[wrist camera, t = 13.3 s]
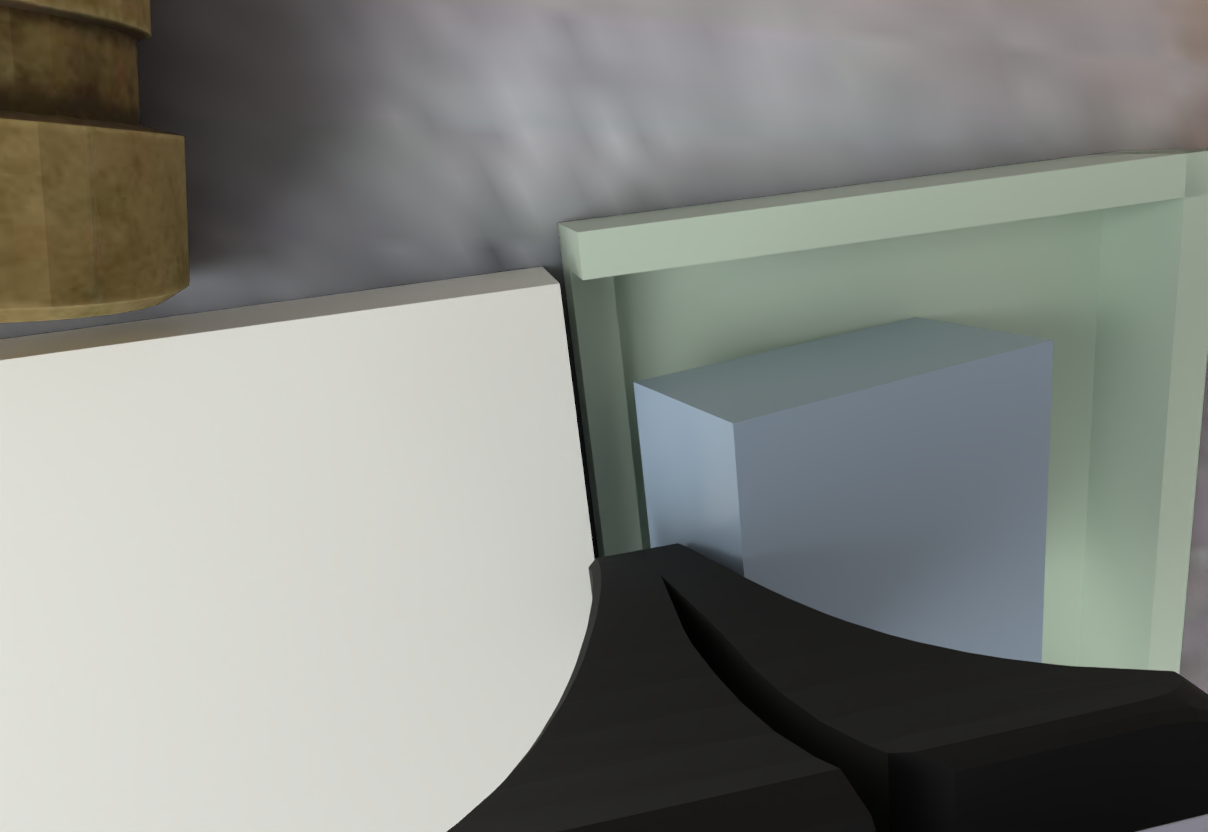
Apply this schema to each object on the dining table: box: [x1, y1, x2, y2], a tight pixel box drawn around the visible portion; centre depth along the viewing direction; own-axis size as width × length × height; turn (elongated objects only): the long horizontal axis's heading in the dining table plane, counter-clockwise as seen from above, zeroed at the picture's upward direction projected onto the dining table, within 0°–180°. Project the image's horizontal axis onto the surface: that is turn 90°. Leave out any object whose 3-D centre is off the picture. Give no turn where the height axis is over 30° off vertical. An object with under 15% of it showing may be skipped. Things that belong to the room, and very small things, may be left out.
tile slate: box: [633, 317, 1053, 663], centre depth 13 cm, size 5×5×2 cm
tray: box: [557, 149, 1208, 674], centre depth 15 cm, size 17×9×2 cm, turn 6°
